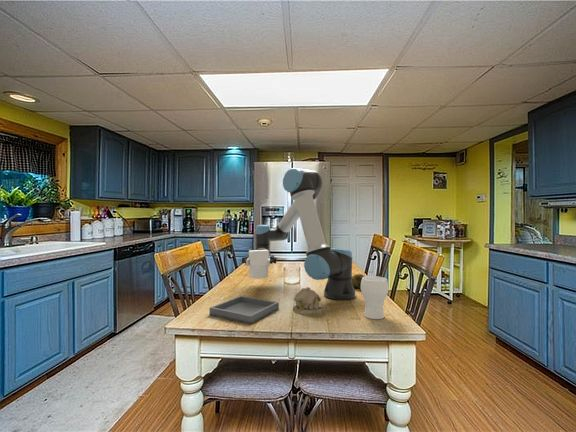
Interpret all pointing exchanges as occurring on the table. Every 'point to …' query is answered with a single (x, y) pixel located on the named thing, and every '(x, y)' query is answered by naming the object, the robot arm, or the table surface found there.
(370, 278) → the cup
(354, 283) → the potato
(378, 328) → the table surface
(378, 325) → the table surface
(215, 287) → the table surface
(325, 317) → the table surface
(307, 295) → the ceramic model
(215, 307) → the box
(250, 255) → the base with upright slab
